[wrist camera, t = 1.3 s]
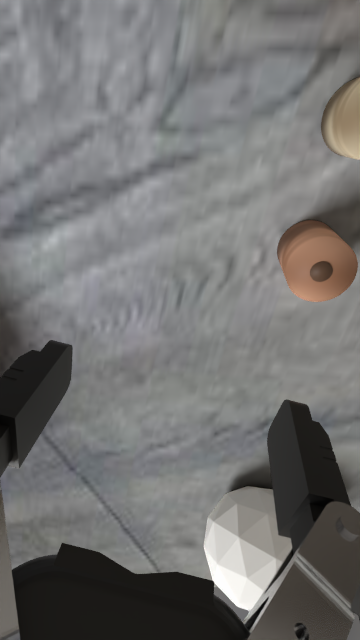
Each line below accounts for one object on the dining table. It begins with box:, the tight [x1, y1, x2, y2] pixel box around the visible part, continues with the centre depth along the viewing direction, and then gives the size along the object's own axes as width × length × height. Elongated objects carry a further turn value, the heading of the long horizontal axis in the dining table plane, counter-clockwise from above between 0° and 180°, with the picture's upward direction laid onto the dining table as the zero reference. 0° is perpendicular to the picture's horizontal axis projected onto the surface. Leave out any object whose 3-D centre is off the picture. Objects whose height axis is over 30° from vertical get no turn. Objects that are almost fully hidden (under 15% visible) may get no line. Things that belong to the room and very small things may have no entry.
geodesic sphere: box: [204, 486, 292, 612], centre depth 41 cm, size 14×14×14 cm
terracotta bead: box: [277, 220, 358, 302], centre depth 27 cm, size 5×5×6 cm
